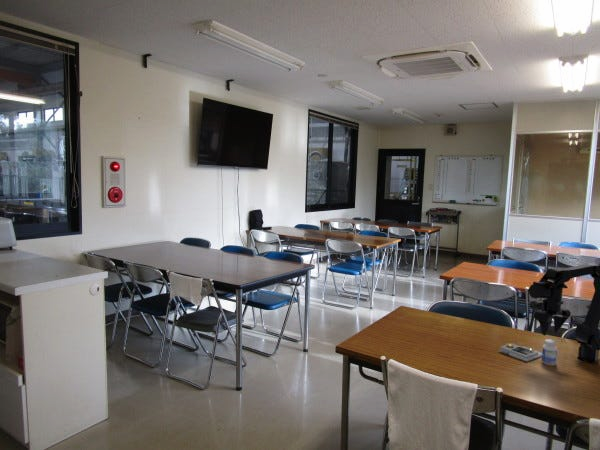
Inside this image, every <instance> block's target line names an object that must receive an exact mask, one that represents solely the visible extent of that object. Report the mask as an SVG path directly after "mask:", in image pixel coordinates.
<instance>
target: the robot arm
mask: <svg viewBox="0 0 600 450" xmlns="http://www.w3.org/2000/svg"><path fill="white" fill-rule="evenodd" d="M588 275H589V276H590V277H591V278H592V279H593V283H592V284H593V288H594V291H593V296H592V298H591V301H590V303H589V307H588V310H587V313H586V316H585V318H584V321H583V322H581V323H577V324H576V326H575V330H574V331H573V332H574V337H575V339H576V342H577V343H578V344H579V347H578V352H577V360H581V361H584V362H587V363H591V364H595V363H598V362H600V358H599V355H600V354H599V353H600V330H599V329H600V328H599V323H600V264H597V263H593V262H588V263H585V264H580V265H575V266H570V267H548V268H547V270H546V272H545V273H544V274H543V276H542V277H541V278H540V279H539V281H533V282H532V284H530V285H529V288H528V294H529V296H530V297H531V298H532V299H543V300H542V301H537V300H531V301H530V302H529V308H530V309H531V310H532V311H535V312H533V313H532V314H533V315H532V317H533V319H535V321H537V322H538V323H539V326H540V329H541V333H542V336H546V335H547V333H548V332H549V329H550V327H551V326H552V323H553V331H554V333H558V332H559V331H560V329H561V328H562V327H563V325H564V324H565V322H567V320H568V319H569V318H570V317H571V313H572V312H571V310H570V309H567V308H563V307H562V305H564V300H562V298H563V291H564V289H568V286H567V284H566V283H567V282H569V281H570V280H571V279H574V278H580V277H584V276H588ZM552 320H553V321H552Z"/></svg>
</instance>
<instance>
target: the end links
mask: <svg viewBox="0 0 600 450" xmlns="http://www.w3.org/2000/svg"><path fill="white" fill-rule="evenodd" d="M499 353H501V354H505V355H507V356H509V357H513V358H515V359H517V360H521V361H524V362H529V361H533V360H536V359H538V358H542V352H540V351H538V350H536V349H535V348H533V347H526V346H521V345H518V344H515V343H512V342H511V343H510V342H507V343H505V344H504V345H501V346H499Z"/></svg>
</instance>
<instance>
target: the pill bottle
mask: <svg viewBox="0 0 600 450" xmlns="http://www.w3.org/2000/svg"><path fill="white" fill-rule="evenodd" d="M544 343H545V344H543V345H542V352H541V353H542V356H541V362H542V363H543V364H545V365H547V366H548V365H549V366H555V365H557V362H558V361H557V359H558V347H557V346H556V345H557V341H556V340H554V339H549V338H548V339H547V338H546V339H544Z"/></svg>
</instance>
